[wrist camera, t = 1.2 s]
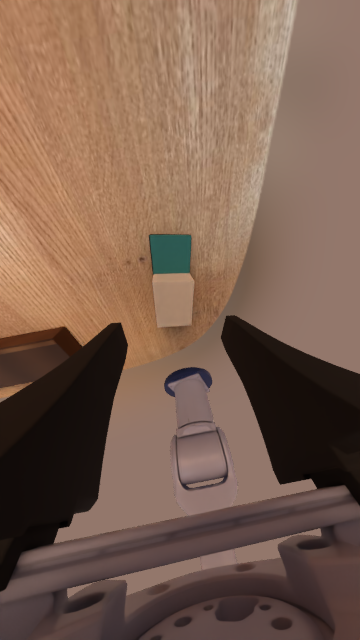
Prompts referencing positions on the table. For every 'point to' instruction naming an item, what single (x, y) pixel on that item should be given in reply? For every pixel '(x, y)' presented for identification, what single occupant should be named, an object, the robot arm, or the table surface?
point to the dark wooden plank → (34, 355)
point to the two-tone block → (172, 279)
